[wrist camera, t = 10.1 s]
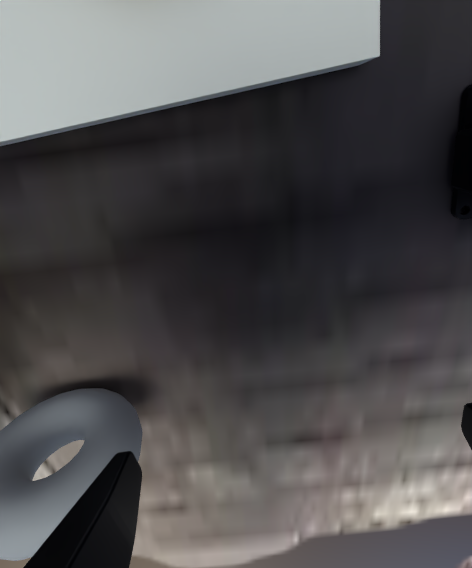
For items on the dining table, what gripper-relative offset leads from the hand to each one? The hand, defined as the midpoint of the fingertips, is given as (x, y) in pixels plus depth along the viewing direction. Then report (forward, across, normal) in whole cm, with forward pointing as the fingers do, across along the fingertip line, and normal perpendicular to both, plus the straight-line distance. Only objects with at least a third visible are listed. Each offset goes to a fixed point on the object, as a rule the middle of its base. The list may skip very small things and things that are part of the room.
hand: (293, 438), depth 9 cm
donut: (+12, +14, +8) cm, 20 cm away
